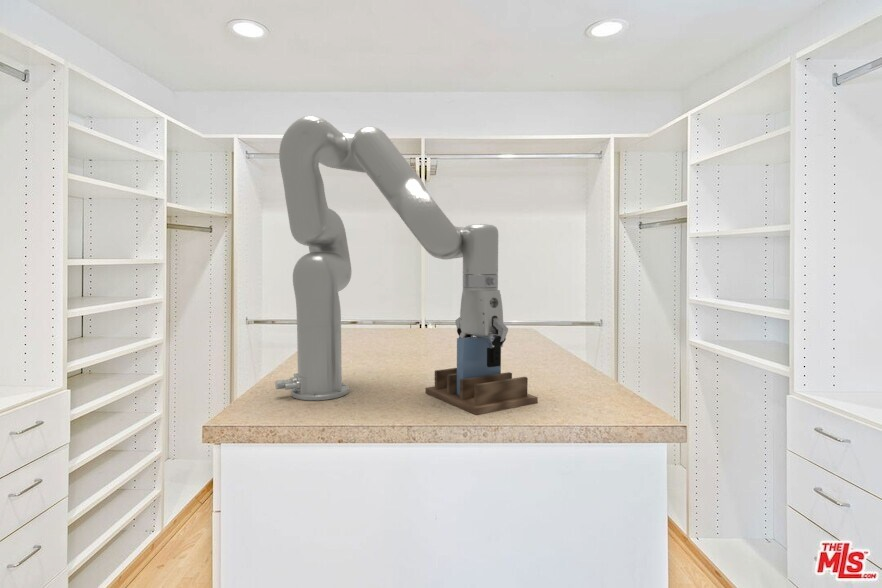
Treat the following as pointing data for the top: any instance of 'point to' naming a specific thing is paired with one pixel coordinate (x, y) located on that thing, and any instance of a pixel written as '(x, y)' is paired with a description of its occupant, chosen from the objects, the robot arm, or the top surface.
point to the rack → (481, 391)
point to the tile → (473, 359)
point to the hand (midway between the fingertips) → (479, 362)
